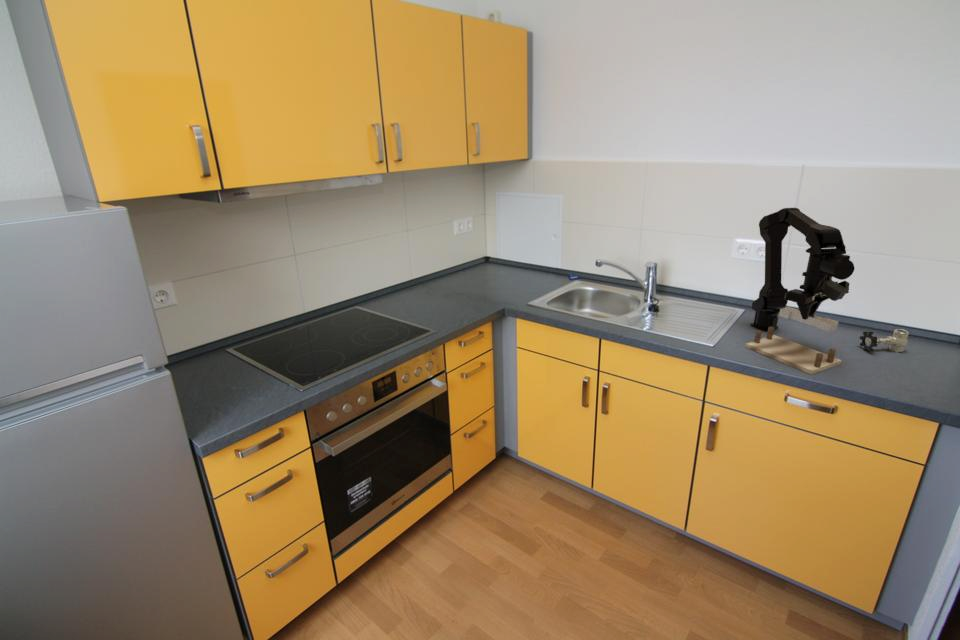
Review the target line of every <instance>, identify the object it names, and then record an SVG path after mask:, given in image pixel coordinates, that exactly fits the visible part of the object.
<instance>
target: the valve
mask: <svg viewBox="0 0 960 640" xmlns="http://www.w3.org/2000/svg"><path fill="white" fill-rule="evenodd" d="M862 334H863V335H860V336H859V340H861V342H860V343H859V346H860V347H863V349H862V350H863V351H865V352H868V351H869V352H874V350H875V349H874V348H876V347H878V345H880V344H881V345H883V344H884V346H888V348H889V350H890V351H892V352H895V353H903V352H904V351H905V346H906V345H907V344H908V338H909V334H910V333H909V331H908V330H906V329H902V328H896V329H894V330H893V335H892V336H891V335H889V336H888V335H886V336H884V338H881V337H879V338H878V337H877V336H873V335H874V332H873V331H868V330H867V331H866V330H865V331H863V332H862ZM873 347H874V348H873Z"/></svg>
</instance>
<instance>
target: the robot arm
mask: <svg viewBox="0 0 960 640" xmlns="http://www.w3.org/2000/svg"><path fill="white" fill-rule="evenodd" d="M790 227H792V228H793V229H795V230H797V231H798V232H799V233H801V234H802V235H803V236H805V242H806V243H807V245H809V248H807V249H805V253H807V254H809V257H808V262H807V266H806V269H805V271H803V272H802V274H801V275H802V277H804V281H803V284H800V285H799V289H797V288H794V289H790V290H788V288H785V287H784V285H783V284H782V267H783V265H782V264H783V263H782V262H783V261H782V259H783V258H782V257H783V254H782V253H783V252H782V251H783V240H784V239H785V237H786V236H787V234H788V233H789V232H788V231H789V228H790ZM758 228H759V235H760V237H761V238H762V240H763V241H764V245H765V246H764V247H765V248H764V250H765V251H764V284H763V286H762V287H761V289H760V290H759V293H758V298H757V299H755V300H754V301H752V303H751V309H752V310H753V311H755V313H754V319H753V322H751V323H750V326H752V327H754V328H757V329H758V330H761V331H763V332H768V328H769V327H774V330H775V329H778V328H779V326H778V321H779V312H780V309H782V308H785V307H787V306H788V305H787V304H788V301H789V302H793V303H796V306H797V308H798V311H800V313H801V316H802V319H804V320H806V319H807V318H808V315H809V314H812V315H815V314H816V312H817V310H818V309H819V307H820V306H821V305H822V303H824V302H825V301H827V300H831V301H834V302H836V301H838V300H843V298H844V296H845V295H846V294H849V293H850V291H849V290H850V282H848V281H846V280H847V279H848V278H850V277H851V276H852V275H853V274H854V272H855V264H854V262H853V261H852V260H851V256H850V255H849V254H847V249H846V245H845V243H844V240H843V235H842V232H841V230H840V229H838V228H837V227H833V226H830V225H825V224H821V223H819V222H818V221H816V220H814V219H813V218H811V217H809V216H808V215H806V213H804V212H803V211H801V210H800V209H799V208H797V207H783V208H781V209H780V210H777V211H775V212H773V213H770V214H767V215H764V216H763V217H762V218H761V219H760V220H759V222H758ZM833 278H834V279H836V280H841V281H840V282H839V281H834V280H832V279H833ZM842 280H843V281H842Z"/></svg>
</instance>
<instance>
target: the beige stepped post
mask: <svg viewBox="0 0 960 640" xmlns="http://www.w3.org/2000/svg"><path fill="white" fill-rule="evenodd" d="M778 317H781V318H783V319H786V320H793V321H796V322H800V323H802V324H806V325H809V326H811V327H816V328H818V329H819V330H823V331H826V332H828V333H829V332H832V331H835V330H837V329H838V326H839V321H838V320H835V319H832V318H829V317H827V318H825V317H823V316H818V315H815V314H814V315H812V314H809V315H808V318H807V319H806V320H804V319H802V316H801V313H800V310H799V308H798V309H797V308H793V307H790V306H785V308H782V309H780V312H778Z"/></svg>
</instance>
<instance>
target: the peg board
mask: <svg viewBox="0 0 960 640" xmlns="http://www.w3.org/2000/svg"><path fill="white" fill-rule="evenodd" d="M774 330H775V329H774V327H769V328H768V331H767V334H766V336H765V337H762V332H763V330H762V329H756V330H755V335H754V340H753V341H750V342H746V343H745V345H744V347H745V348H746V349H750V350H751V351H754V352H757V353H759V354H762V355H764V356H765V357H766V356H767V357H768V358H771V359H773V360H775V361H777V362H780V363H782V362H783V363H782V364H785V365H788V366H790V367H792V368H794V369H797V370H800V371H802V372H804V373H807V374H809V375H813V374H814V375H815V374H818V373H819V372H822V371H825V370H828V369H831V368H834V367H836V366H839V365H842V361H843V360H842V359H839V358H837V357H836V352H837V350H836V349H835V348H829V349H828V354H826V353H823V352H821V351H818V350H815V349H813V348H811V347H808V346H805V345H802V344H799V343H797V342H794V341H793V340H792V341H791V340H788V339H786V338H784V337H781V336H778V335H775V334H774Z"/></svg>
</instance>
